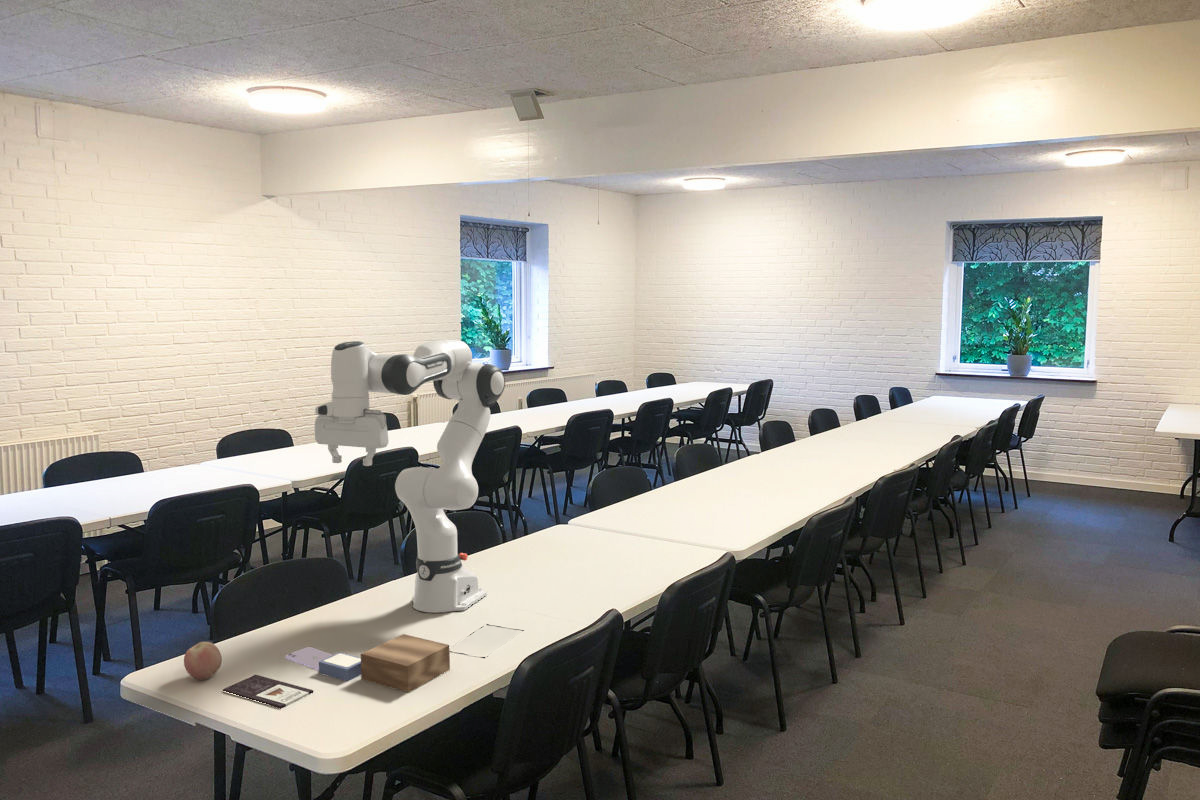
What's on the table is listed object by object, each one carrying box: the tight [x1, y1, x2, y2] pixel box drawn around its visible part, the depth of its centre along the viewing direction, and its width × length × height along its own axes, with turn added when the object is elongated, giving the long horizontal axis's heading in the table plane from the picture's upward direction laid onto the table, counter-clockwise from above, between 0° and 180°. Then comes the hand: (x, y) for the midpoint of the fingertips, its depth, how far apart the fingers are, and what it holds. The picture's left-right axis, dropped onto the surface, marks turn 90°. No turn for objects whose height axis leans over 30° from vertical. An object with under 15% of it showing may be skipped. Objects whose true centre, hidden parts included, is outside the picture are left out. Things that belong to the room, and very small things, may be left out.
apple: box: [183, 641, 222, 681], centre depth 200 cm, size 8×8×8 cm
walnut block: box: [360, 633, 451, 694], centre depth 202 cm, size 14×14×6 cm
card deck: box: [318, 651, 361, 682], centre depth 204 cm, size 6×9×3 cm
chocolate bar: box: [221, 674, 314, 710], centre depth 193 cm, size 9×1×18 cm
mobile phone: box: [284, 646, 334, 672], centre depth 211 cm, size 8×1×15 cm
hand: (352, 464), depth 217 cm, fingers open, 8 cm apart
